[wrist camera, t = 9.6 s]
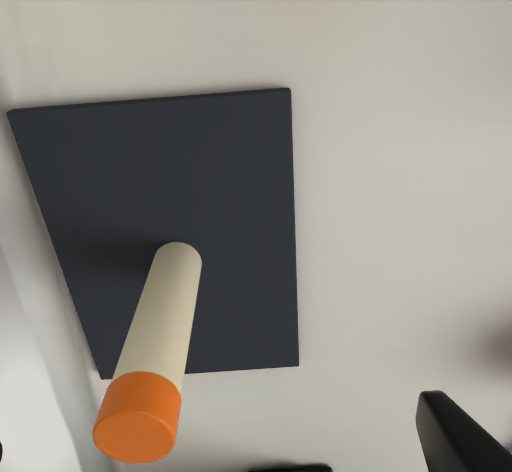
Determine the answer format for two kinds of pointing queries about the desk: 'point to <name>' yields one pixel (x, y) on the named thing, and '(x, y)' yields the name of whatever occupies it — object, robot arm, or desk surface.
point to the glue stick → (152, 362)
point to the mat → (173, 216)
